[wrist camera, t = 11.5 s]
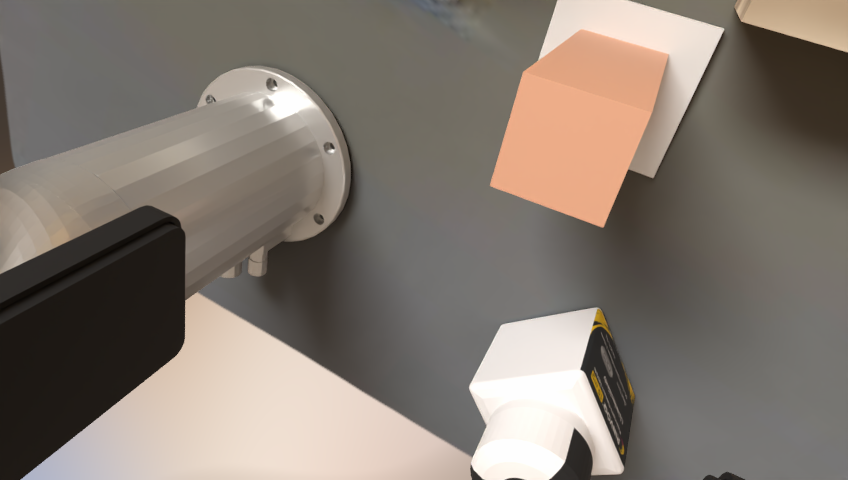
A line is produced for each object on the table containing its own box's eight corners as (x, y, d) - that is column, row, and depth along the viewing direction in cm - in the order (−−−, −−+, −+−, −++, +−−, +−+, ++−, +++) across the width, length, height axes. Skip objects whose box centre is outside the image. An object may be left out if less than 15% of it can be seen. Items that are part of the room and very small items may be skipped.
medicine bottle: (636, 396, 39) (614, 551, 29) (536, 405, 42) (486, 547, 33) (600, 304, 37) (564, 436, 27) (499, 322, 41) (434, 445, 31)
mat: (653, 175, 32) (653, 178, 32) (517, 126, 34) (516, 128, 34) (723, 28, 28) (724, 29, 28) (565, -19, 30) (563, -18, 30)
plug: (633, 137, 32) (602, 227, 22) (553, 111, 33) (489, 185, 23) (668, 54, 29) (651, 112, 19) (581, 28, 30) (523, 71, 20)
